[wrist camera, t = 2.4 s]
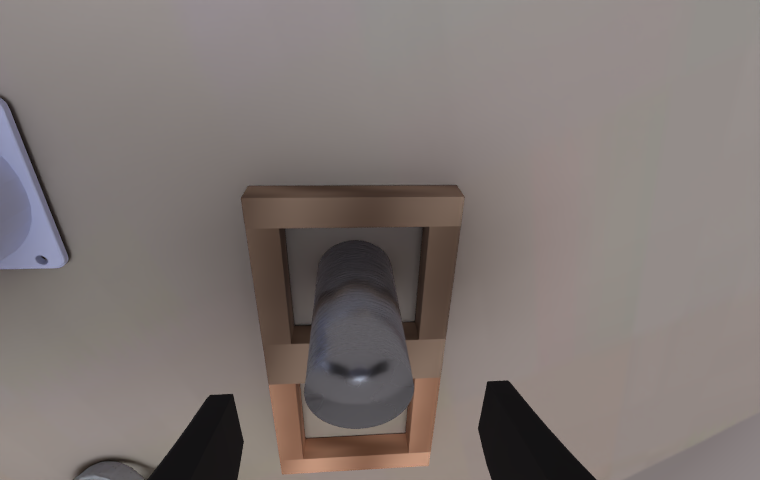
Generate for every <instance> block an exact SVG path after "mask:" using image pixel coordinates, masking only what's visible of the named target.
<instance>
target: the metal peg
mask: <svg viewBox="0 0 760 480" xmlns="http://www.w3.org/2000/svg"><path fill="white" fill-rule="evenodd" d="M413 393H414V382H413V377H412V372H411V366H410V361H409V356H408V351H407V345H406V340H405V335H404V330H403V325H402V319H401V314H400V309H399V304H398V298H397V293H396V288H395V283H394V278H393V272H392V267H391V263H390V260H389V258H388V256H387V255H386V254H385V253H384V252H383V251H382V250H381V249H380V248H379V247H377V246H376V245H374V244H371V243H369V242H365V241H358V240H353V241H346V242H342V243H339V244H337V245H335V246H333V247H332V248H330V249H329V250H328V251H327V252H326V253H325V254H324V255H323V257H322V258H321V260H320V263H319V265H318V272H317V281H316V290H315V299H314V308H313V317H312V326H311V335H310V343H309V352H308V361H307V370H306V379H305V388H304V396H305V401H306V403H307V405H308V407H309V409H310V410H311V411H312V412H313V414H315V415H316V416H317V417H318V418H320V419H321V420H323V421H325V422H327V423H329V424H331V425H334V426H338V427H343V428H351V429H361V428H369V427H374V426H378V425H381V424H383V423H386V422H388V421H390V420H392V419H394V418H395V417H397V416H398V415H399V414H401V413H402V412H403V411H404V410H405V409H406V407H407V406H408V405H409V403H410V401H411V400H412V397H413Z"/></svg>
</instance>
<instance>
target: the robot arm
mask: <svg viewBox="0 0 760 480" xmlns="http://www.w3.org/2000/svg"><path fill="white" fill-rule="evenodd" d="M41 256H44V257H45V258H46V259H47V260H45V259H43V258H42V257H41ZM68 260H69V259H68V255H67V252H66V250H65V247H64V245H63V242H62V240H61V237H60V235H59V232H58V229H57V227H56V224H55V222H54V219H53V217H52V214H51V212H50V209H49V207H48V204H47V202H46V199H45V197H44V194H43V192H42V189H41V187H40V184H39V182H38V179H37V177H36V174H35V172H34V169H33V167H32V164H31V162H30V159H29V157H28V154H27V151H26V149H25V146H24V144H23V141H22V139H21V136H20V134H19V131H18V129H17V126H16V124H15V121H14V119H13V116H12V114H11V111H10V109H9V107H8V105H7V103H6V102H5V101H4V100H3V99H2V98H0V269H45V268H61V267H62V266H64V265H65V264H66V263H67V262H68ZM478 430H479V435H480V439H481V443H482V448H483V452H484V456H485V460H486V464H487V467H488V470H489V473H490V476H491V479H492V480H596V479H595V478H594V477H593V476H592V475H591V474H590V472H589V471H588V470H587V469H586V468H585V467H584V466H583V465H582V464H581V463H580V462H579V461H578V460H577V459H576V458H575V457H574V456H573V455H572V454H571V453H570V452H569V450H568V449H567V448H566V447H565V446H564V445H563V444H562V443H561V442H560V440H559V439H558V438H557V437H556V436H555V435H554V434H553V433H552V432H551V430H550V429H549V428H548V427H547V426H546V425H545V424H544V422H543V421H542V420H541V419H540V418H539V417H538V415H537V414H536V413H535V412H534V411H533V409H532V408H531V407H530V406H529V405H528V404H527V402H526V401H525V400H524V399H523V397H522V396H521V395H520V394H519V393H518V391H517V390H516V389H515V388H514V387H513V385H512V384H511V383H510V382H509V381H488V382H487V386H486V391H485V396H484V401H483V406H482V411H481V416H480V421H479V426H478ZM243 443H244V441H243V437H242V432H241V428H240V423H239V419H238V414H237V410H236V406H235V401H234V397H233V394H222V395H210V396H209V397H208V398H207V399H206V400H205V402H204V403H203V405H202V406H201V408H200V409H199V411H198V412H197V413H196V415H195V416H194V418H193V419H192V421H191V422H190V424H189V425H188V426H187V428H186V429H185V431H184V432H183V433H182V435H181V436H180V437H179V439H178V440H177V442H176V443H175V444H174V446H173V447H172V448H171V450H170V451H169V452H168V454H167V455H166V456H165V458H164V459H163V460H162V462H161V463H160V464H159V466H158V467H157V468H156V469H155V471H154V472H153V473H152V475H151V476H150V477H149V478H148V480H237V478H238V473H239V467H240V461H241V455H242V449H243Z"/></svg>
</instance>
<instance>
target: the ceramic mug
mask: <svg viewBox="0 0 760 480" xmlns="http://www.w3.org/2000/svg"><path fill="white" fill-rule="evenodd" d="M90 479H102V480H145V479H144V478H143V477H142V476H141V475H139V474H138V473H137V472H136V471H135V470H133V468H131V467H129V466H127V465H125V464H123V463H121V462H112V461H105V462H100V463H97V464H95V465H92V466H90V467H89V468H87V469H86V470H85V471H84V472H82V473H81V474H80V475H79V476H77V477H76V478H75V479H74V480H90Z"/></svg>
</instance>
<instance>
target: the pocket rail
mask: <svg viewBox="0 0 760 480" xmlns="http://www.w3.org/2000/svg"><path fill="white" fill-rule="evenodd" d="M464 198H465V197H464V195H463V194H462V192H461V191H460V189H459V188H458V187H457V185H407V186H248V187H247V189H246V190H245V192H244V194H243V195H242V197H241V202H242V209H243V216H244V223H245V229H246V236H247V243H248V249H249V256H250V263H251V269H252V276H253V283H254V289H255V296H256V303H257V310H258V316H259V323H260V330H261V336H262V343H263V350H264V356H265V363H266V370H267V376H268V383H269V390H270V397H271V403H272V410H273V417H274V423H275V430H276V437H277V443H278V450H279V457H280V463H281V470H282V474H298V473H314V472H331V471H348V470H365V469H382V468H399V467H415V466H429V459H430V452H431V444H432V437H433V430H434V422H435V415H436V407H437V400H438V392H439V385H440V377H441V370H442V362H443V355H444V347H445V340H446V332H447V325H448V318H449V310H450V303H451V295H452V288H453V280H454V273H455V265H456V258H457V250H458V243H459V235H460V228H461V220H462V213H463V206H464ZM357 227H423V232H422V244H421V256H420V268H419V280H418V292H417V303H416V315H415V322H404V323H402V325H403V330H404V335H405V340H406V345H407V351H408V356H409V361H410V366H411V372H412V377H413V382H414V393H413V397H412V400H411V401H410V403H409V405H408V410H407V422H406V433H402V434H383V435H364V436H345V437H326V438H307V439H305V431H304V421H303V411H302V401H301V390H300V383H305V379H306V370H307V361H308V352H309V343H310V335H311V326H312V325H306V326H294V319H293V308H292V298H291V288H290V278H289V267H288V257H287V247H286V237H285V228H357Z"/></svg>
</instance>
